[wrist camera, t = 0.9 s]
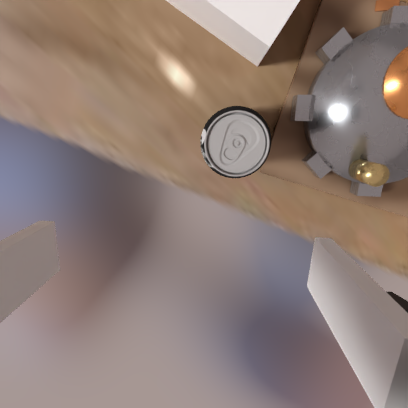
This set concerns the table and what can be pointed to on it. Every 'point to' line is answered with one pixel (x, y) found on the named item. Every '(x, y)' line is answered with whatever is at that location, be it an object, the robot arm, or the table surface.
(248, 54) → the tissue box
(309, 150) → the board
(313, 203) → the table surface
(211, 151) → the beverage can
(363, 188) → the sprocket
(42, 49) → the table surface
